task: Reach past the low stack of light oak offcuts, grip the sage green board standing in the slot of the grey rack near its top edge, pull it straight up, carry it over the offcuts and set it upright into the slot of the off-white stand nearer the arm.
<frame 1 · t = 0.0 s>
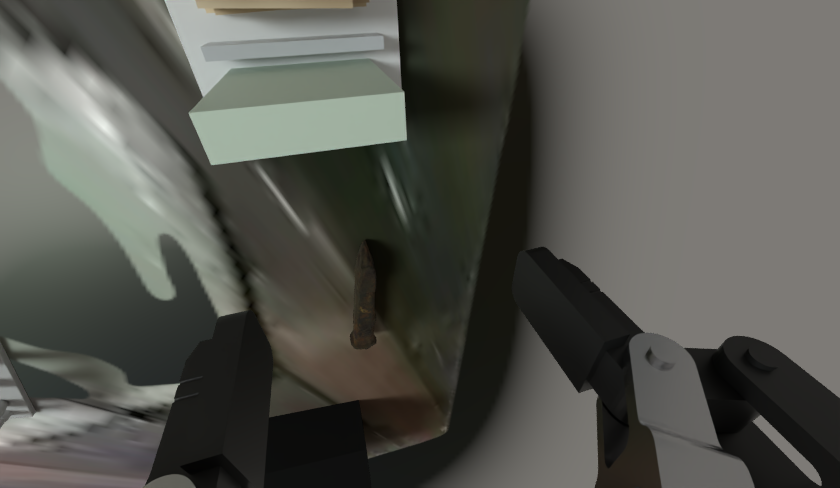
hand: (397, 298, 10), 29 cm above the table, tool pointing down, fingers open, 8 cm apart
grey rack: (298, 42, 30), on the table
sage board: (306, 81, 31), point 1 cm above the table, touching grey rack
hand tool: (358, 289, 50), on the table
uninterruptible power supply: (272, 434, 66), on the table
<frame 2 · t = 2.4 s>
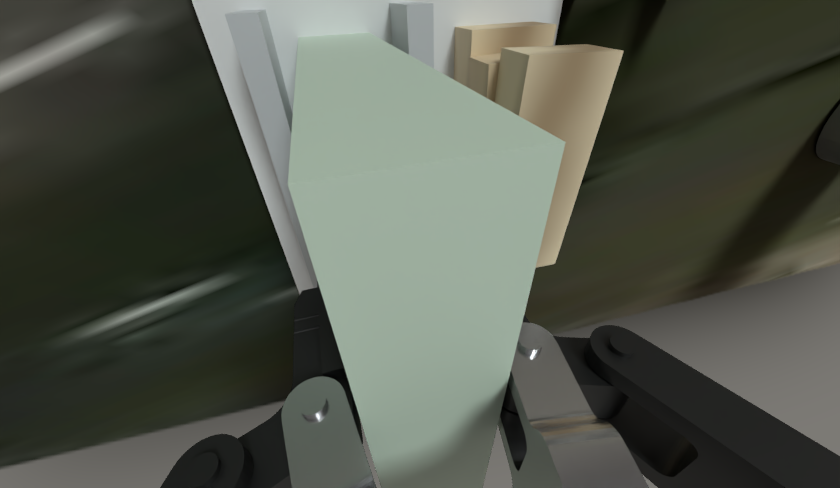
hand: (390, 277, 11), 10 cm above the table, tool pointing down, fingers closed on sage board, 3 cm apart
grey rack: (405, 151, 19), on the table
sage board: (355, 165, 18), point 1 cm above the table, touching grey rack, gripper
offcut stack: (483, 146, 19), point 1 cm above the table, touching grey rack
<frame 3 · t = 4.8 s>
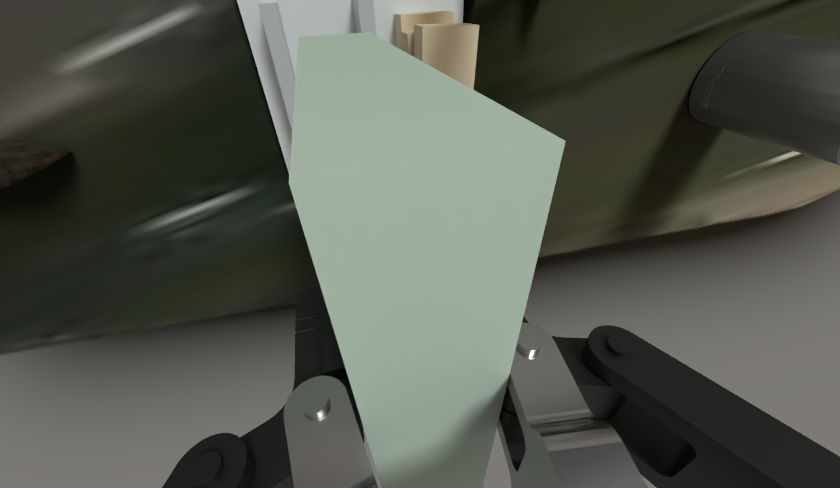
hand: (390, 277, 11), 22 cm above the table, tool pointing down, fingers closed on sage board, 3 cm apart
grey rack: (369, 99, 28), on the table
sage board: (356, 165, 18), point 13 cm above the table, touching gripper
offcut stack: (422, 96, 29), point 1 cm above the table, touching grey rack
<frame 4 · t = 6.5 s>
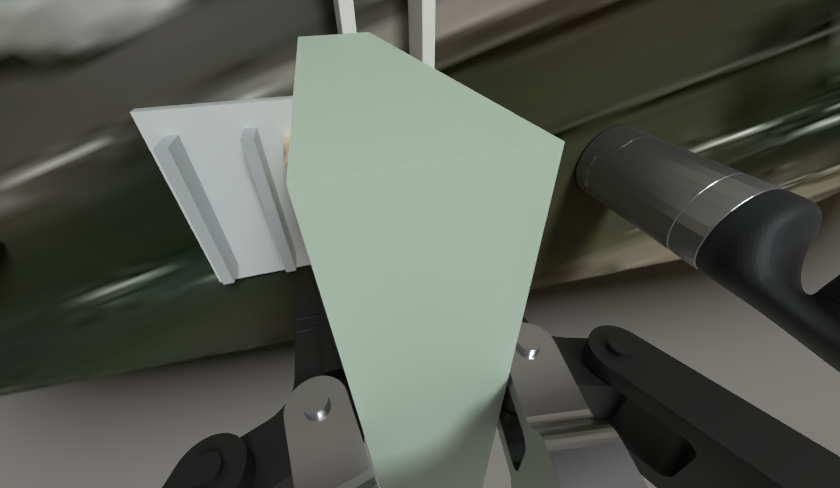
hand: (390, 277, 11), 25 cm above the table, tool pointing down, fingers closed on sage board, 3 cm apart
grey rack: (274, 194, 33), on the table
sage board: (355, 165, 18), point 15 cm above the table, touching gripper
white stand: (379, 23, 27), on the table
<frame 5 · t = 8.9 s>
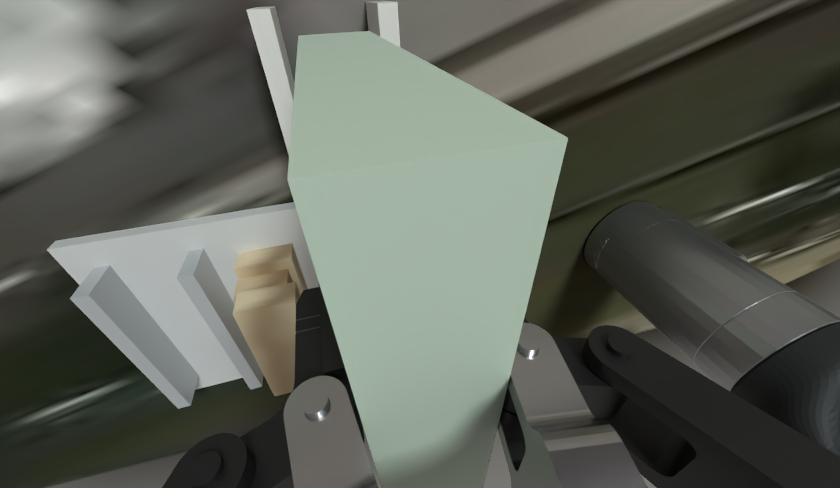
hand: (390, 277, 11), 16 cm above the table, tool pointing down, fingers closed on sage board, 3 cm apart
grey rack: (234, 304, 29), on the table
sage board: (356, 164, 18), point 7 cm above the table, touching gripper
white stand: (343, 128, 23), on the table
offcut stack: (287, 301, 29), point 1 cm above the table, touching grey rack
when the fingers open (11 cm above the table, at t = 10.6 s): sage board drops 1 cm, on the table.
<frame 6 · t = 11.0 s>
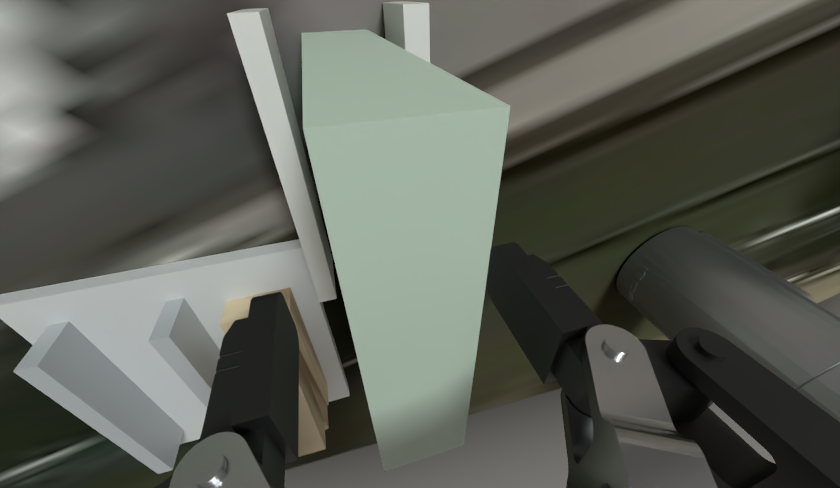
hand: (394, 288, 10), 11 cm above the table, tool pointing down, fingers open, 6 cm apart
grey rack: (223, 353, 25), on the table
sage board: (353, 154, 19), on the table
white stand: (352, 155, 19), on the table
offcut stack: (284, 349, 25), point 1 cm above the table, touching grey rack
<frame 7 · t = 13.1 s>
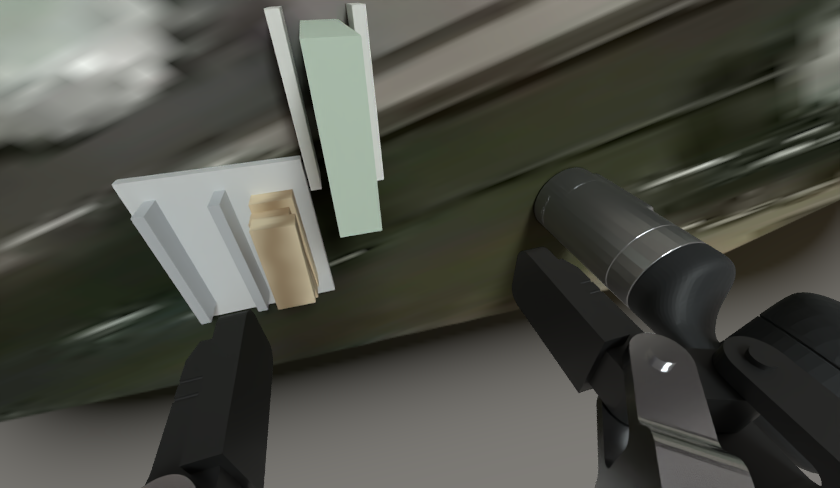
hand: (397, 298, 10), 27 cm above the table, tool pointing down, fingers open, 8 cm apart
grey rack: (246, 242, 37), on the table
sage board: (332, 97, 31), on the table
white stand: (331, 97, 31), on the table
offcut stack: (288, 239, 37), point 1 cm above the table, touching grey rack
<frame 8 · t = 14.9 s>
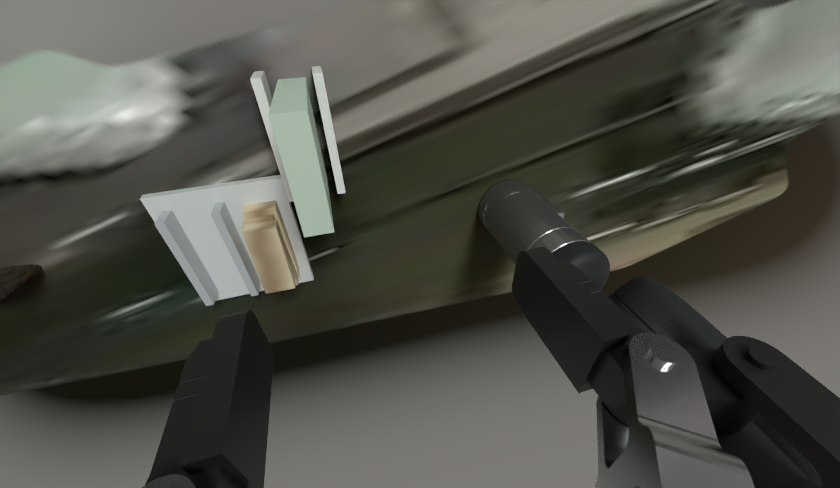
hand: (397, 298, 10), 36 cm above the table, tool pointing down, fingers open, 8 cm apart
grey rack: (241, 241, 47), on the table
sage board: (304, 131, 41), on the table
white stand: (303, 132, 41), on the table
offcut stack: (274, 239, 47), point 1 cm above the table, touching grey rack
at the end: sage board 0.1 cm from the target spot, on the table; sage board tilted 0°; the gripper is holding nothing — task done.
